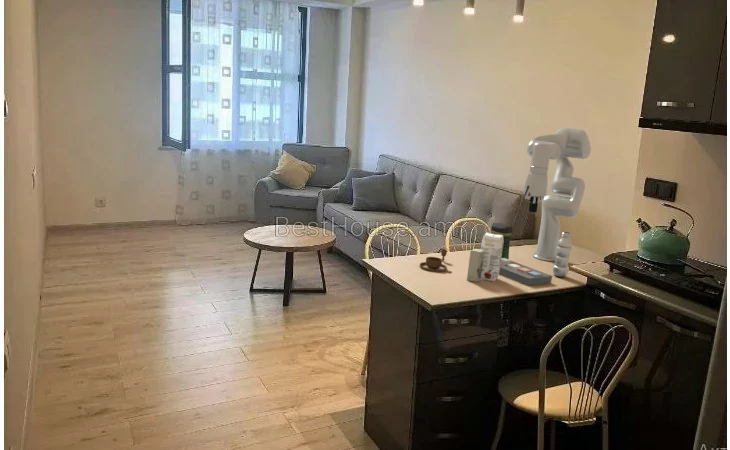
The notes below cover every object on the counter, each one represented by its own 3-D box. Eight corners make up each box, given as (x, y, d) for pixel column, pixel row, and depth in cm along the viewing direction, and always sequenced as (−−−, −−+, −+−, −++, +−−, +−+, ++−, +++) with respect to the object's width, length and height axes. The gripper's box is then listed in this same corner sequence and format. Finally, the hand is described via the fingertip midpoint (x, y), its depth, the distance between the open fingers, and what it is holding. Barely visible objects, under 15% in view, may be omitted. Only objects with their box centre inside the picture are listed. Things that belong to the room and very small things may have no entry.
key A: (513, 268, 283) (514, 263, 282) (520, 270, 279) (520, 266, 279) (507, 268, 281) (507, 264, 280) (513, 271, 277) (514, 266, 277)
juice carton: (496, 282, 265) (502, 238, 261) (476, 278, 267) (481, 234, 264) (499, 278, 272) (505, 234, 268) (479, 274, 274) (485, 231, 271)
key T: (523, 272, 278) (524, 267, 277) (530, 274, 275) (531, 270, 274) (516, 272, 276) (517, 268, 275) (523, 275, 272) (524, 270, 272)
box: (476, 282, 262) (480, 252, 259) (466, 280, 264) (470, 250, 261) (480, 280, 266) (484, 250, 264) (471, 277, 269) (475, 248, 266)
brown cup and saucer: (409, 265, 281) (410, 252, 280) (442, 261, 293) (443, 249, 292) (436, 276, 268) (437, 262, 267) (469, 271, 280) (471, 258, 279)
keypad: (508, 266, 292) (509, 260, 291) (551, 283, 272) (552, 275, 271) (486, 269, 284) (487, 262, 284) (528, 285, 264) (529, 278, 263)
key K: (504, 262, 287) (504, 257, 287) (510, 264, 284) (511, 260, 284) (497, 262, 285) (498, 258, 285) (504, 265, 282) (504, 260, 282)
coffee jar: (510, 264, 297) (516, 225, 293) (500, 266, 292) (505, 226, 288) (494, 259, 304) (499, 221, 300) (483, 260, 299) (488, 222, 295)
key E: (533, 275, 273) (534, 271, 273) (540, 278, 270) (541, 274, 269) (527, 276, 271) (527, 272, 270) (534, 279, 268) (535, 274, 267)
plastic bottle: (559, 278, 280) (566, 234, 275) (548, 274, 285) (555, 231, 281) (570, 278, 283) (577, 234, 278) (559, 273, 288) (566, 230, 284)
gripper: (543, 169, 286) (537, 209, 290) (520, 169, 278) (514, 210, 282) (556, 172, 280) (550, 213, 284) (533, 172, 272) (527, 214, 276)
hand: (532, 211), depth 283 cm, fingers closed
